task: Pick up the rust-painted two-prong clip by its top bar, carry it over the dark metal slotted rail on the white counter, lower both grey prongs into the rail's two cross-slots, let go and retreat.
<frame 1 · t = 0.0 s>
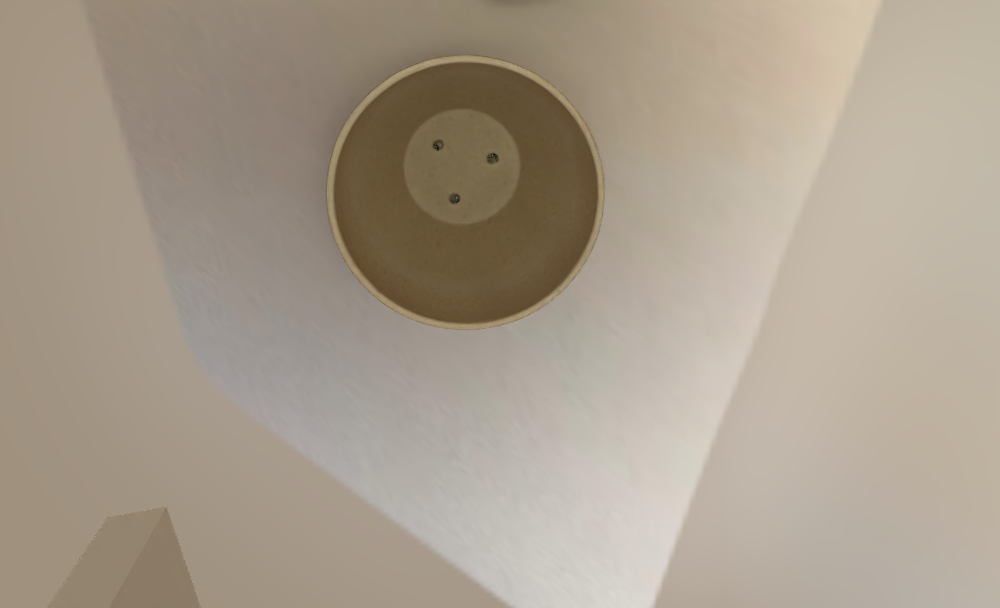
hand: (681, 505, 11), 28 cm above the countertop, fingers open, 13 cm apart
flower pot: (463, 166, 38), on the countertop
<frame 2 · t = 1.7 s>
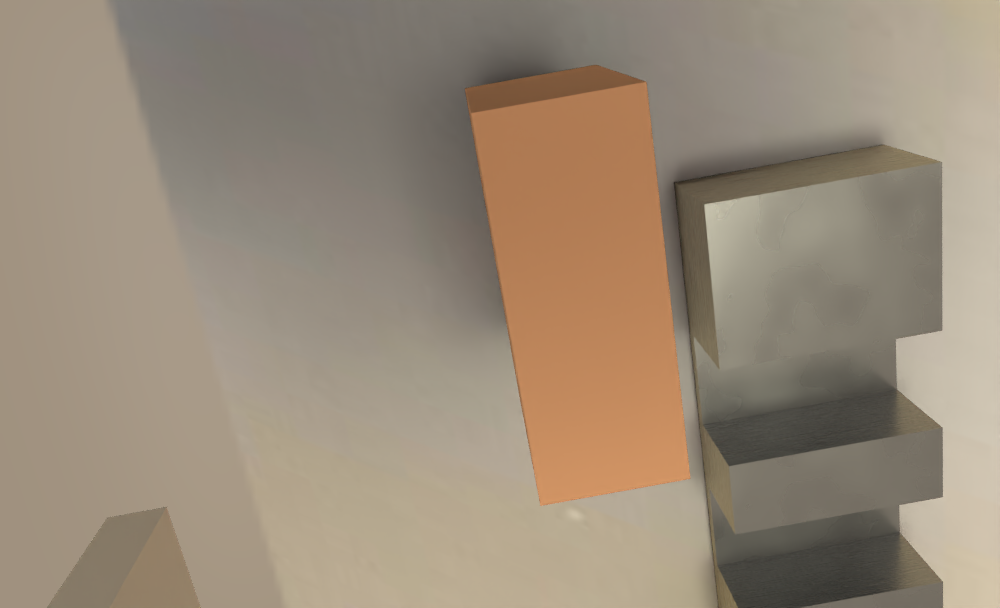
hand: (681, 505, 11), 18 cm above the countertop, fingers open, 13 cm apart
rail: (796, 432, 32), on the countertop
clip: (539, 206, 28), on the countertop
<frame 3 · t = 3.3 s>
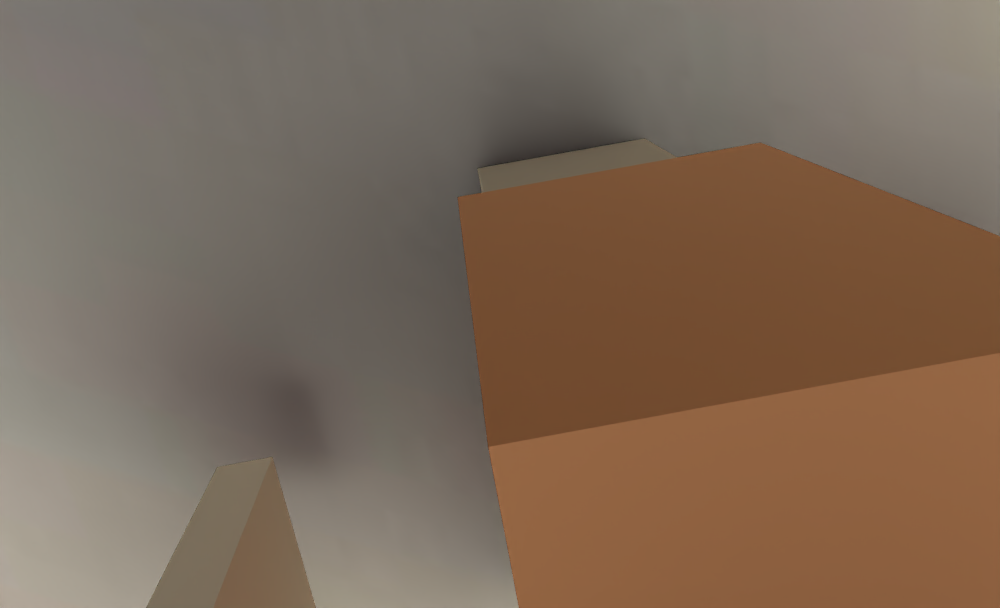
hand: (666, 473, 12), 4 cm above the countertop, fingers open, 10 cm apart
clip: (592, 373, 16), on the countertop
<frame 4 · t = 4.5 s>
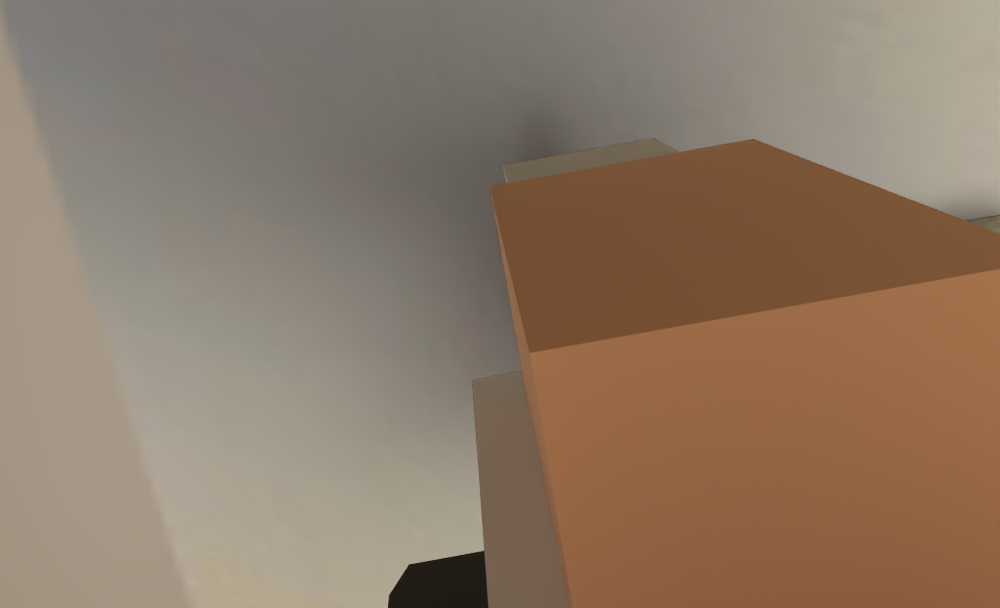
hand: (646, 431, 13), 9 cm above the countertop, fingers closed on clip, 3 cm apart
rail: (882, 566, 25), on the countertop
clip: (606, 353, 17), point 5 cm above the countertop, touching gripper
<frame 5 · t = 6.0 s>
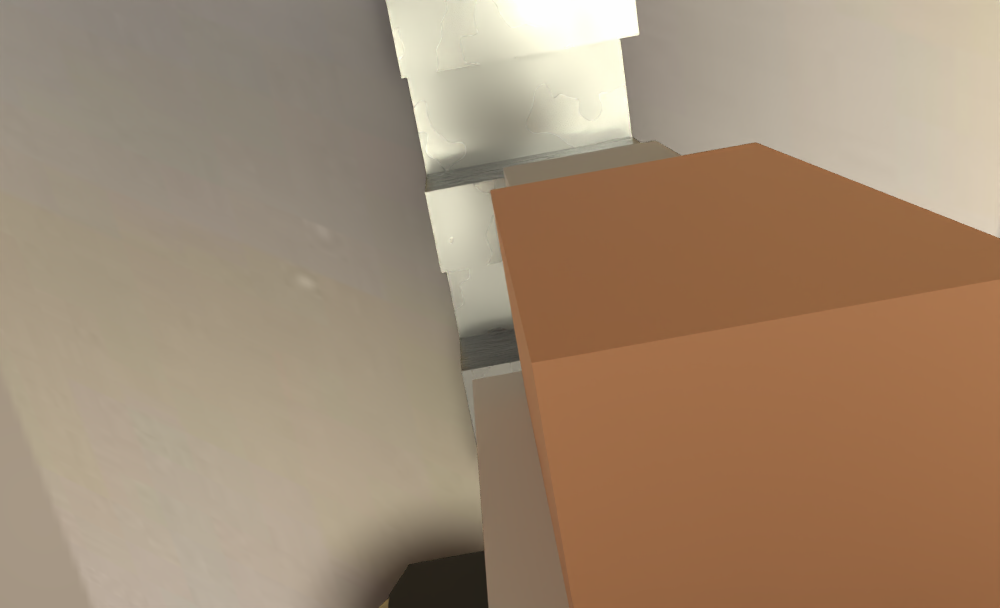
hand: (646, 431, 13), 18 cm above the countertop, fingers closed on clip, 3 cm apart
rail: (533, 190, 30), on the countertop
clip: (607, 356, 17), point 14 cm above the countertop, touching gripper
when the fingers open (5 cm above the countertop, at t = 7.9 s): clip stays where it is, resting on rail.
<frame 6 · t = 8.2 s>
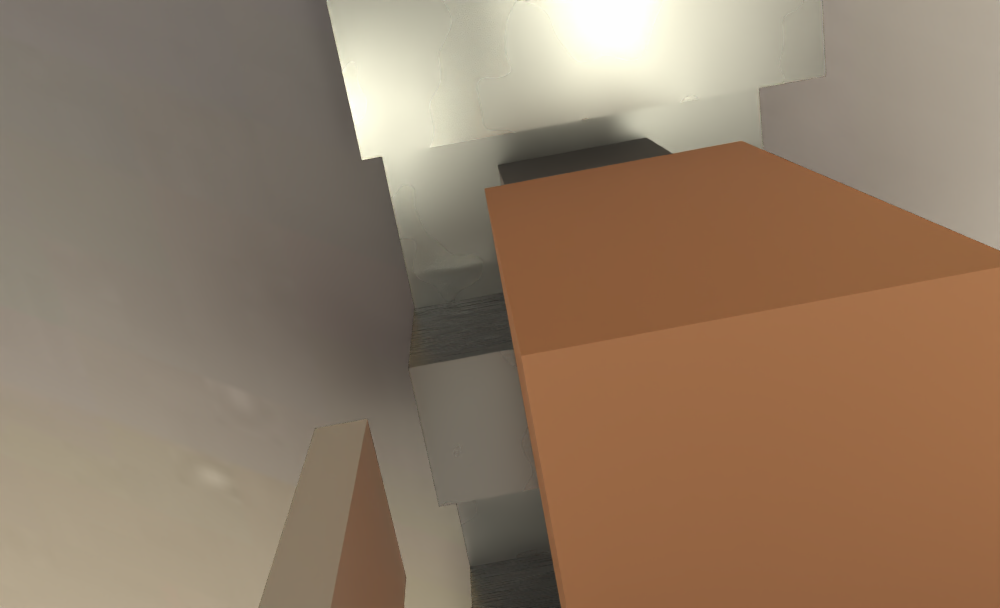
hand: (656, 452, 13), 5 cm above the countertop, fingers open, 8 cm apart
rail: (596, 329, 18), on the countertop
clip: (601, 349, 17), resting on rail
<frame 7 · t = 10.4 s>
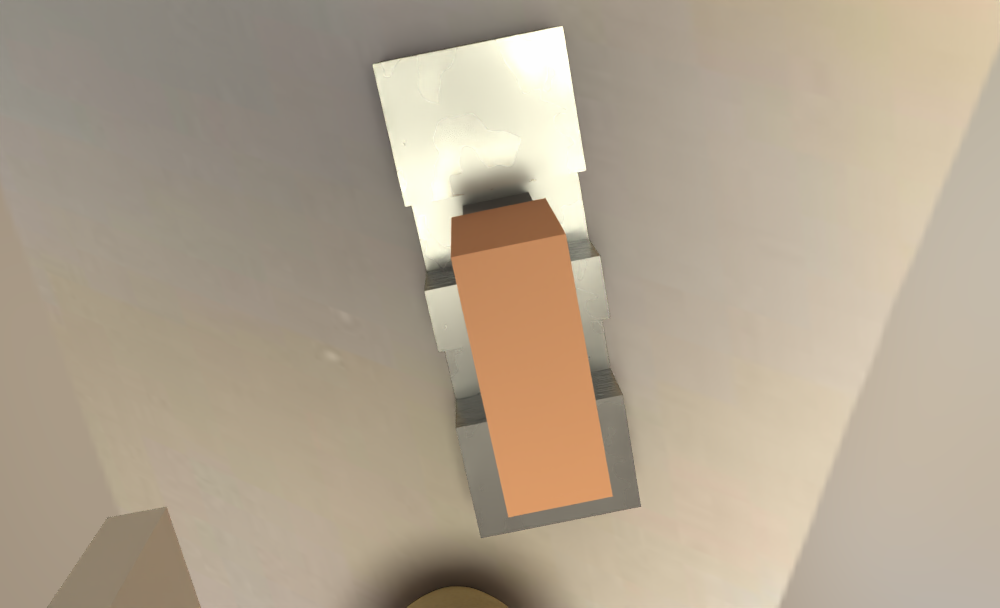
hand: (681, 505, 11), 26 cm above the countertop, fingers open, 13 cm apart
rail: (512, 280, 38), on the countertop
clip: (513, 289, 37), resting on rail
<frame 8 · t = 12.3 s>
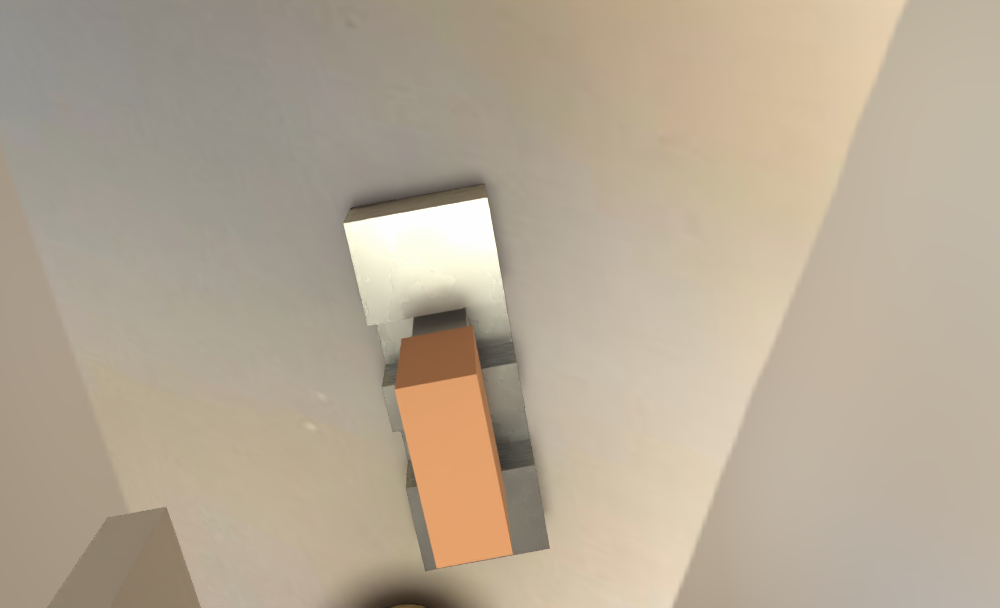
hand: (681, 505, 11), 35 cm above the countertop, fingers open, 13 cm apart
rail: (453, 371, 48), on the countertop
clip: (453, 378, 48), resting on rail
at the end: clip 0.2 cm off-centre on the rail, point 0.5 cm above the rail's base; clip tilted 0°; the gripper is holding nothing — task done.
